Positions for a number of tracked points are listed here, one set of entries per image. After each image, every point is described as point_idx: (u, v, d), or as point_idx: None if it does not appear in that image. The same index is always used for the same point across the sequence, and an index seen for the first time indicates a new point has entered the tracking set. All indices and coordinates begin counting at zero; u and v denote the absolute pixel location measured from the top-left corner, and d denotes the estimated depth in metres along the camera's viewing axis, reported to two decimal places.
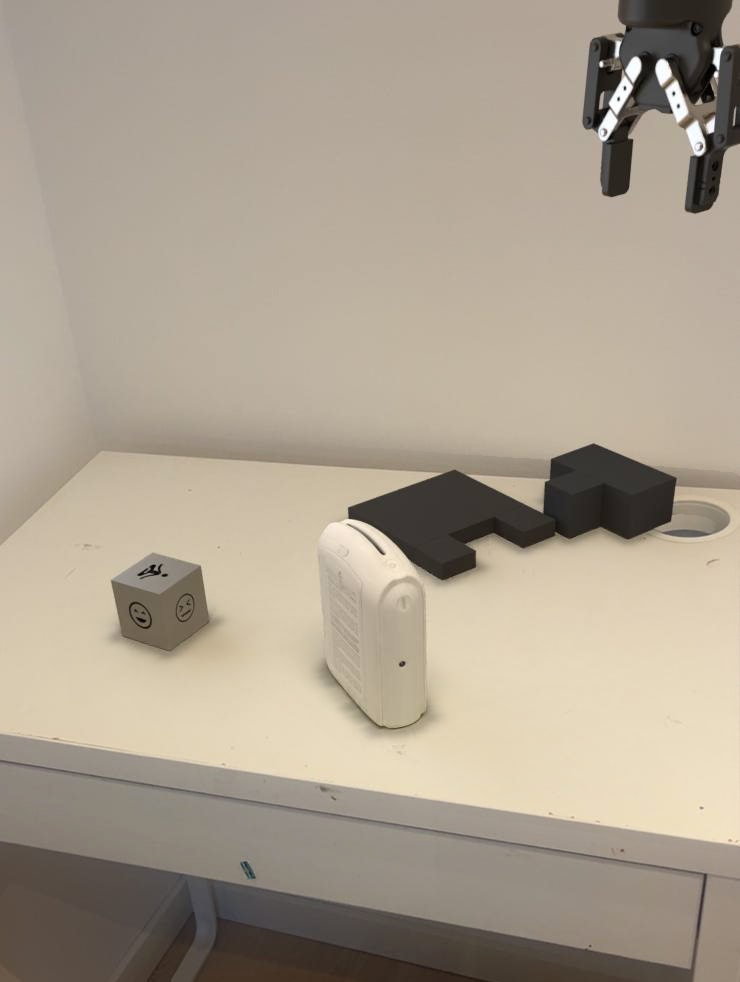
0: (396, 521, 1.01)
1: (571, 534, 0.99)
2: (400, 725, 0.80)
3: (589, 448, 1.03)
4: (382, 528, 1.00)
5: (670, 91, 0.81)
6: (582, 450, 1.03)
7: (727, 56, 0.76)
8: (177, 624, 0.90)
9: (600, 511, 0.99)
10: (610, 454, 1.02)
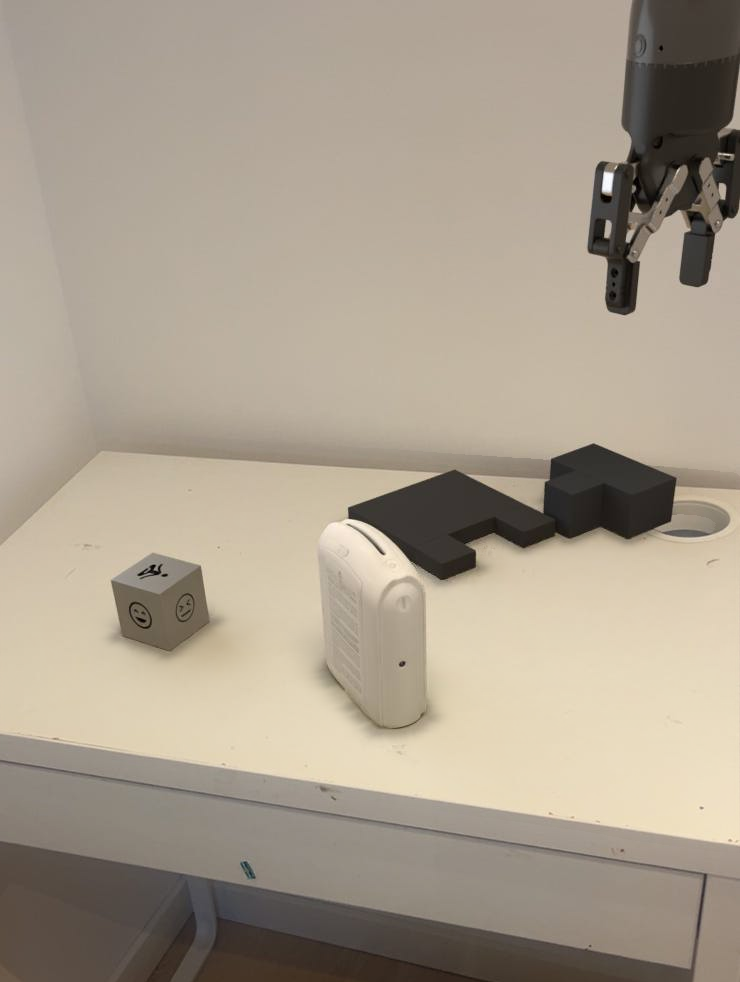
0: (396, 521, 1.01)
1: (571, 534, 0.99)
2: (400, 725, 0.80)
3: (589, 448, 1.03)
4: (382, 528, 1.00)
5: None
6: (582, 450, 1.03)
7: None
8: (177, 624, 0.90)
9: (600, 511, 0.99)
10: (610, 454, 1.02)
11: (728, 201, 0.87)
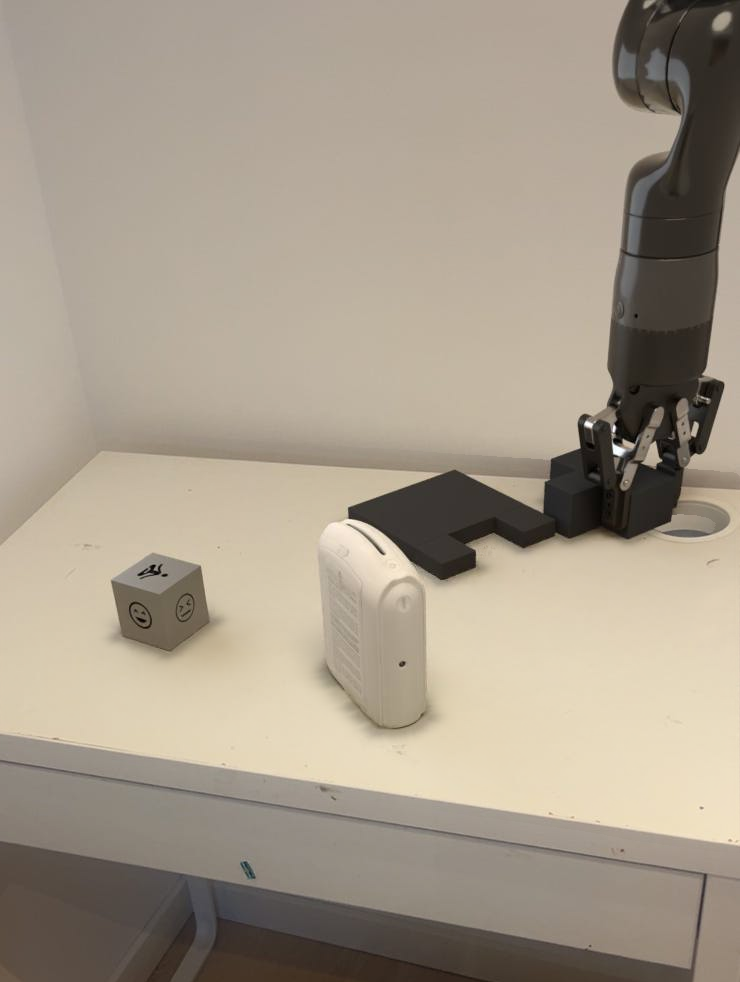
0: (396, 521, 1.01)
1: (571, 534, 0.99)
2: (400, 725, 0.80)
3: None
4: (382, 528, 1.00)
5: None
6: None
7: None
8: (177, 624, 0.90)
9: (600, 511, 0.99)
10: None
11: (698, 438, 0.96)
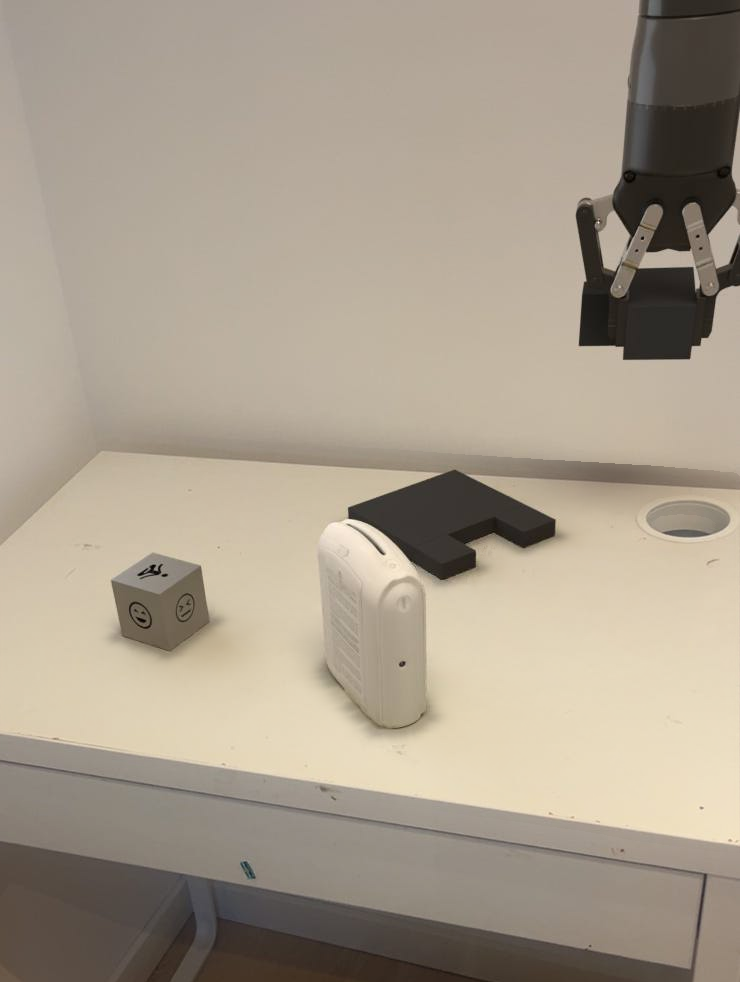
0: (396, 521, 1.01)
1: (581, 342, 0.93)
2: (400, 725, 0.80)
3: (679, 269, 0.94)
4: (382, 528, 1.00)
5: None
6: (670, 269, 0.94)
7: None
8: (177, 624, 0.90)
9: None
10: (685, 277, 0.92)
11: (732, 265, 0.84)
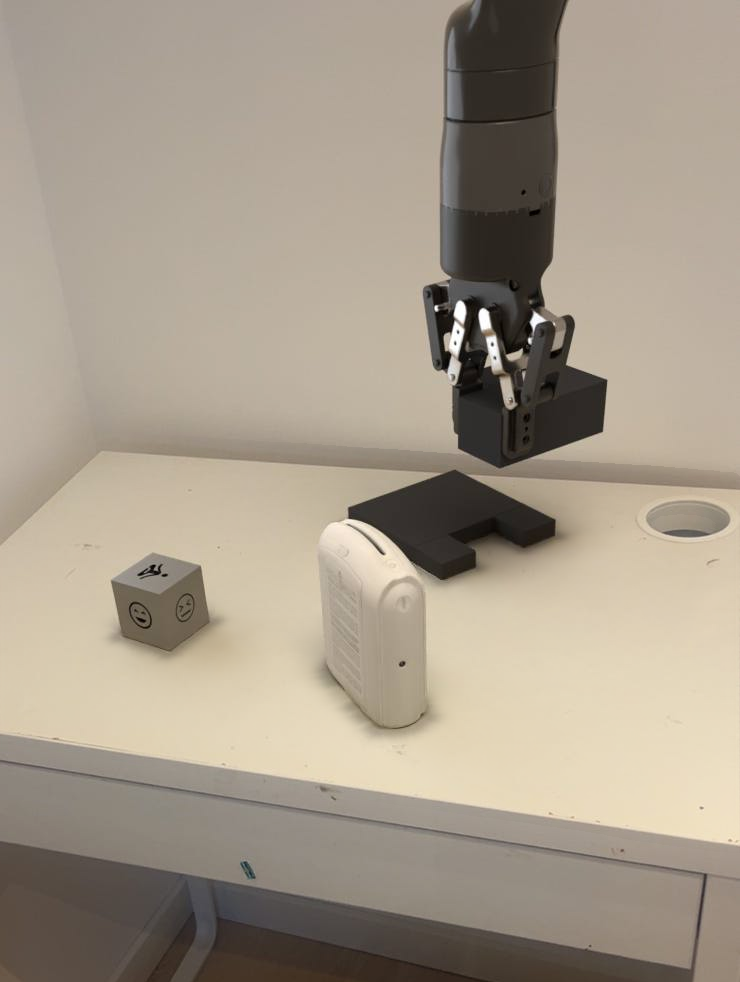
0: (396, 521, 1.01)
1: None
2: (400, 725, 0.80)
3: (590, 378, 0.86)
4: (382, 528, 1.00)
5: None
6: (586, 375, 0.87)
7: None
8: (177, 624, 0.90)
9: None
10: (571, 386, 0.85)
11: (524, 384, 0.79)
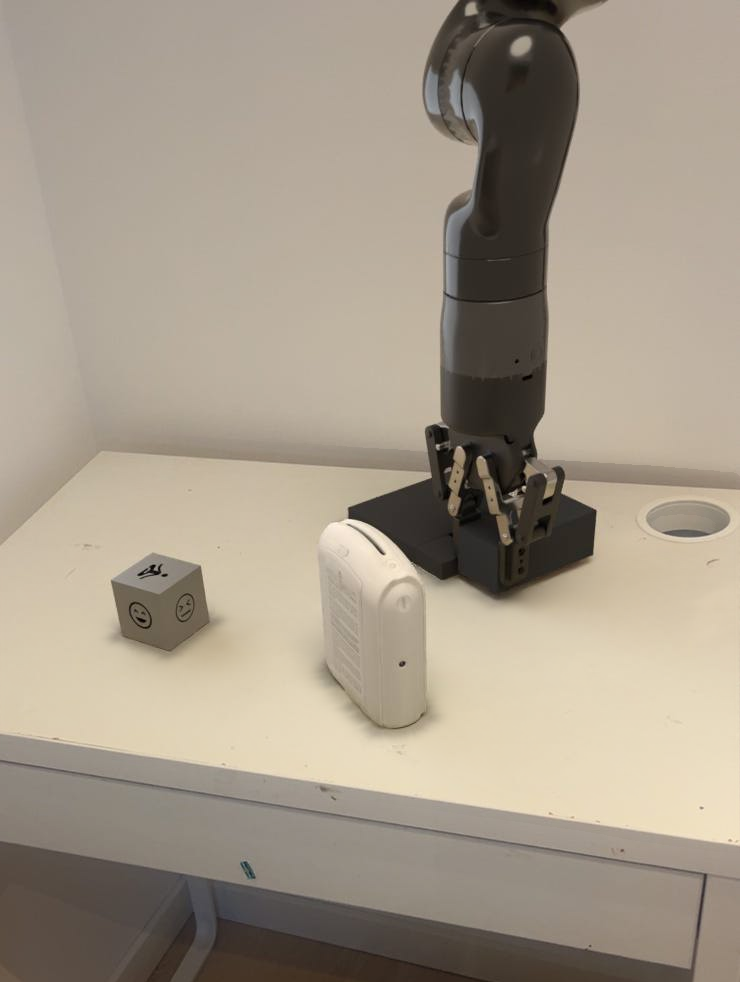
0: (396, 521, 1.01)
1: None
2: (400, 725, 0.80)
3: (581, 507, 0.93)
4: (382, 528, 1.00)
5: None
6: (577, 504, 0.93)
7: None
8: (177, 624, 0.90)
9: None
10: (563, 517, 0.92)
11: (518, 525, 0.86)
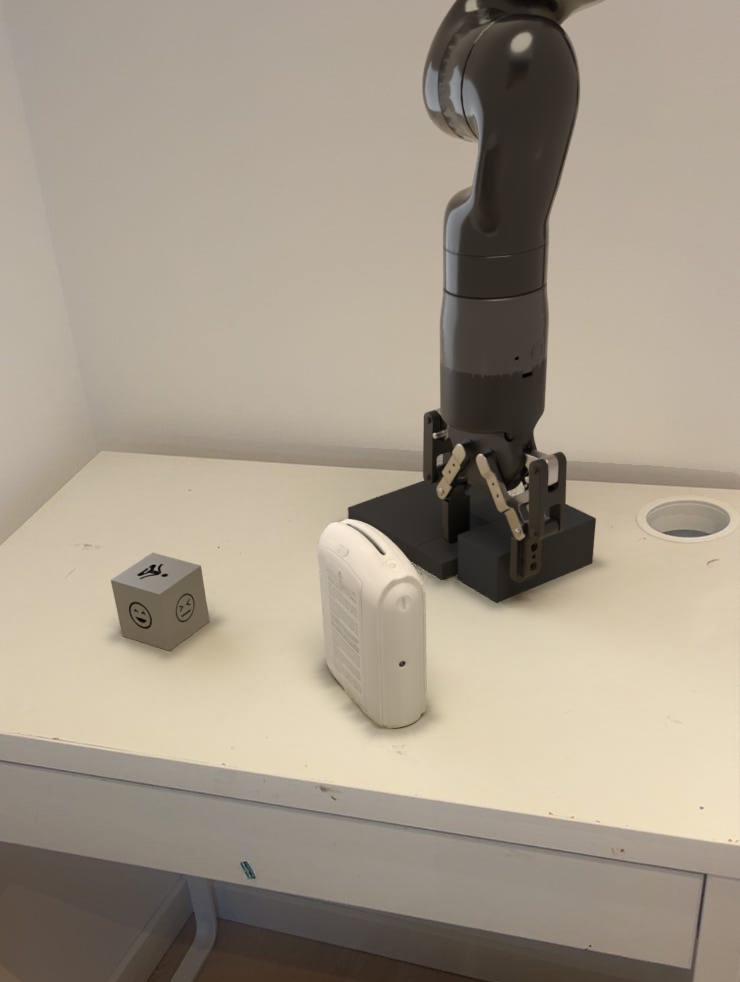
0: (396, 521, 1.01)
1: None
2: (400, 725, 0.80)
3: (580, 515, 0.93)
4: (382, 528, 1.00)
5: None
6: (576, 512, 0.94)
7: None
8: (177, 624, 0.90)
9: None
10: None
11: (529, 520, 0.84)
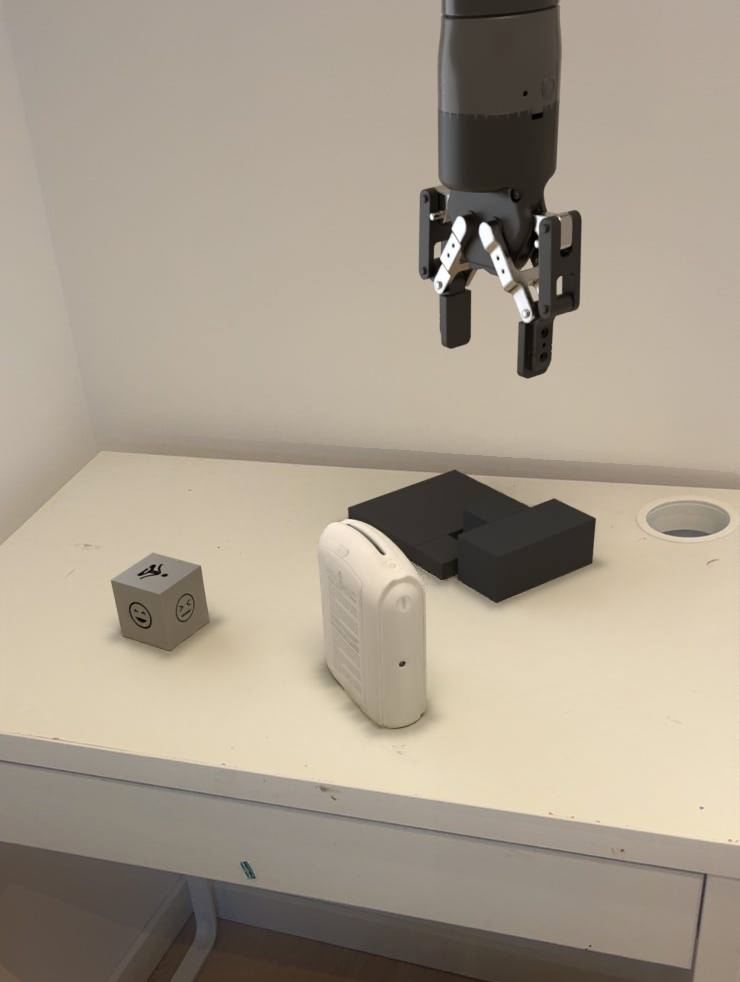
0: (396, 521, 1.01)
1: None
2: (400, 725, 0.80)
3: (580, 515, 0.93)
4: (382, 528, 1.00)
5: None
6: (576, 512, 0.94)
7: None
8: (177, 624, 0.90)
9: None
10: (563, 525, 0.92)
11: (539, 295, 0.74)
